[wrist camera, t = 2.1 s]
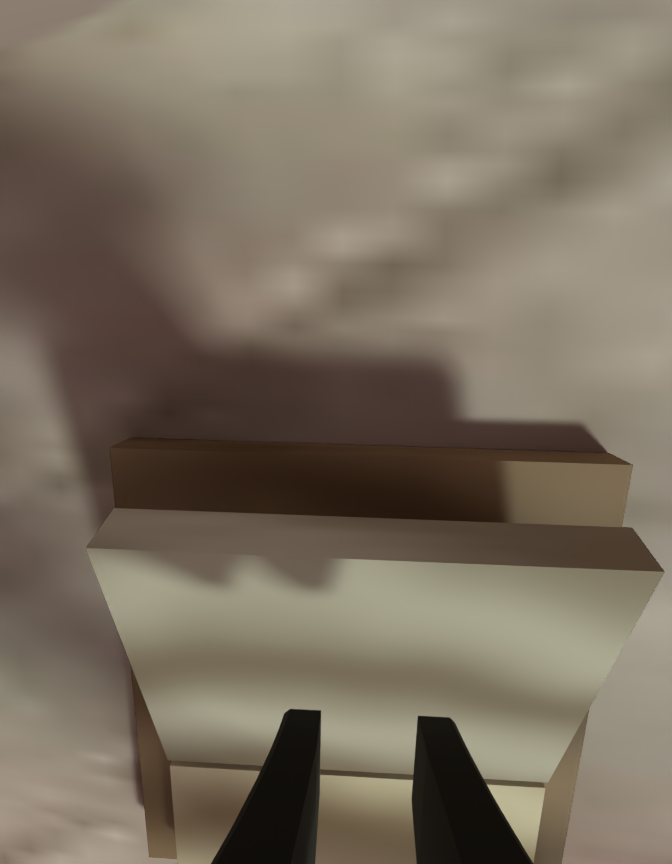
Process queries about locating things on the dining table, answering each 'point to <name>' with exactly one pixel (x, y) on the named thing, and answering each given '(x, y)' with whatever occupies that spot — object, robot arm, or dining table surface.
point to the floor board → (369, 498)
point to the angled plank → (369, 631)
